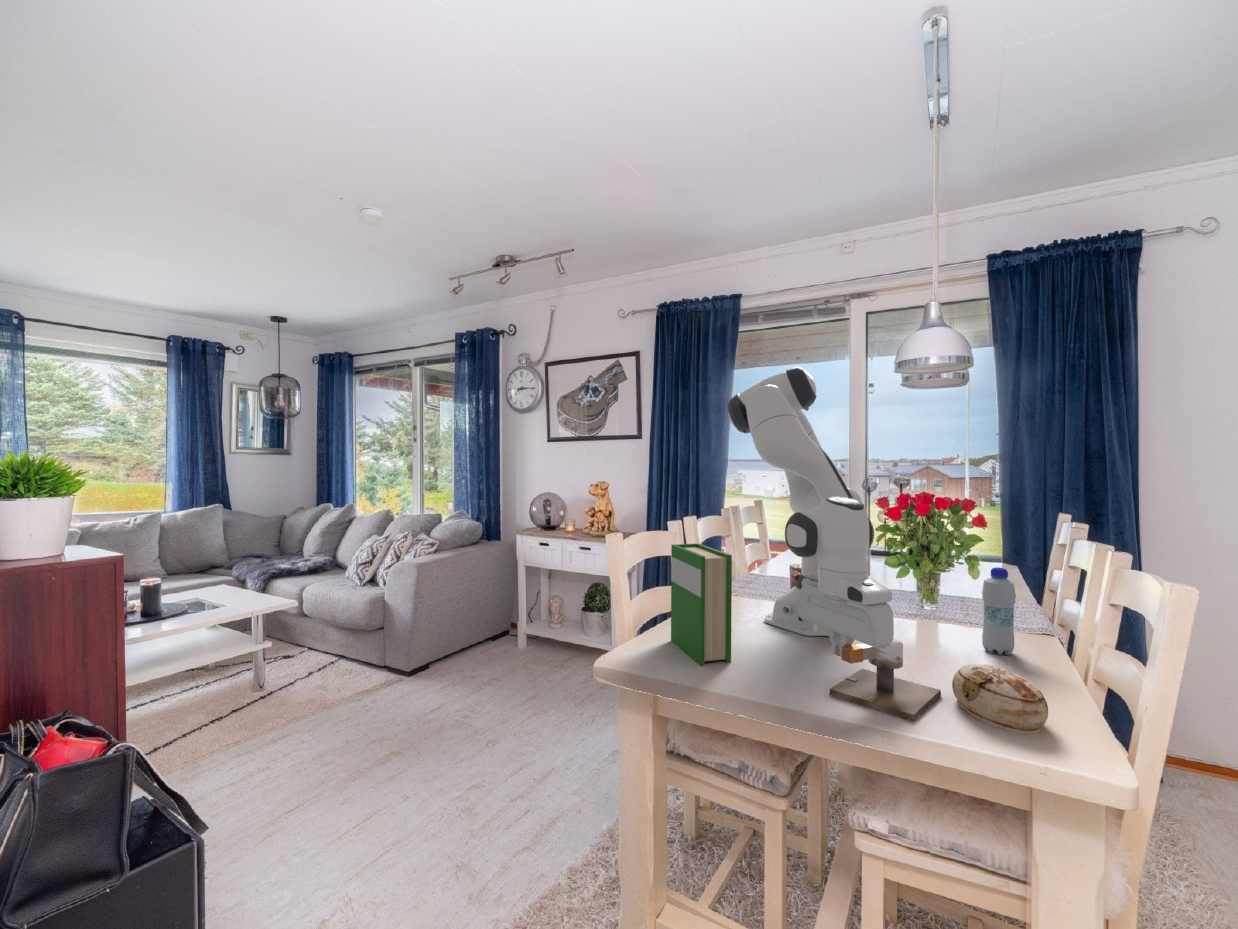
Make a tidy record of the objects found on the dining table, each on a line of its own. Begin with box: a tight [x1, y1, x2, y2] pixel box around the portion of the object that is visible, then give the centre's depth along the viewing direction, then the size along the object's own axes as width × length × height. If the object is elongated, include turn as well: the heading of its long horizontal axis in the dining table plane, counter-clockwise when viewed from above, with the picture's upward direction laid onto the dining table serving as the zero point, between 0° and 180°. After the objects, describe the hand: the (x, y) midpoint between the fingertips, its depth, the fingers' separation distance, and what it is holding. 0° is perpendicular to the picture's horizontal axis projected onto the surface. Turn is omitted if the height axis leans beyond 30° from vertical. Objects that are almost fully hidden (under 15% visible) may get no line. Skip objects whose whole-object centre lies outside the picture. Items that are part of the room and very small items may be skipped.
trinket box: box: [951, 663, 1049, 735], centre depth 100 cm, size 13×15×8 cm
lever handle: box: [840, 638, 904, 670], centre depth 106 cm, size 13×6×4 cm, turn 114°
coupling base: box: [829, 666, 942, 722], centre depth 107 cm, size 15×15×6 cm
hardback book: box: [670, 543, 733, 667], centre depth 132 cm, size 18×7×24 cm, turn 16°
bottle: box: [981, 566, 1017, 656], centre depth 132 cm, size 7×7×20 cm
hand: (840, 655), depth 106 cm, fingers closed
